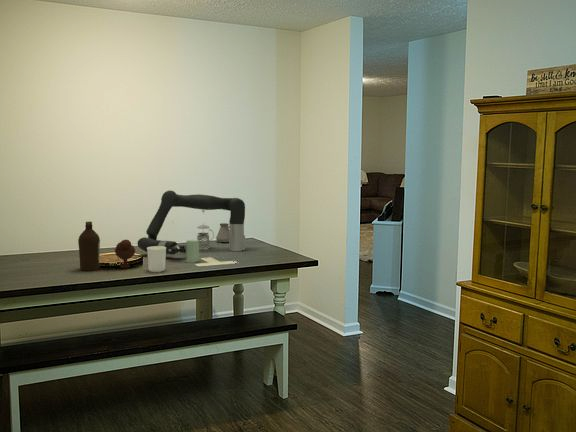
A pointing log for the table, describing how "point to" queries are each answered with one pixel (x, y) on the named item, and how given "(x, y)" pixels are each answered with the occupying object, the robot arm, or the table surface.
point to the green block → (193, 251)
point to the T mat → (213, 262)
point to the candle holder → (156, 258)
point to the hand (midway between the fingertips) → (190, 249)
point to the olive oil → (89, 249)
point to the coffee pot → (223, 233)
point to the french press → (204, 237)
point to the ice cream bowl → (125, 252)
